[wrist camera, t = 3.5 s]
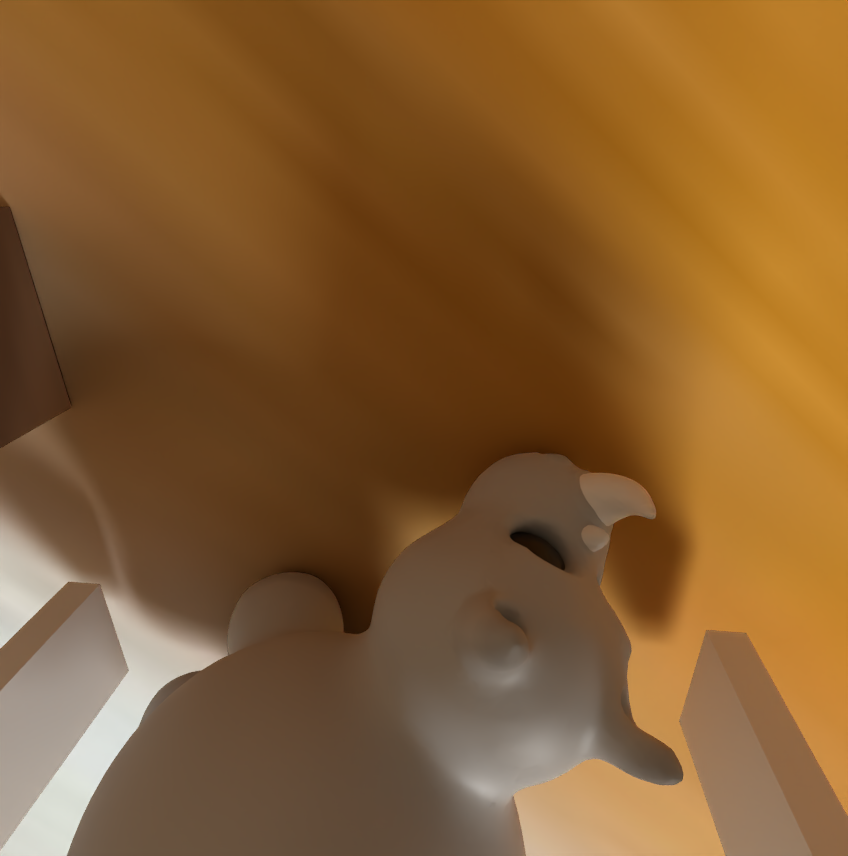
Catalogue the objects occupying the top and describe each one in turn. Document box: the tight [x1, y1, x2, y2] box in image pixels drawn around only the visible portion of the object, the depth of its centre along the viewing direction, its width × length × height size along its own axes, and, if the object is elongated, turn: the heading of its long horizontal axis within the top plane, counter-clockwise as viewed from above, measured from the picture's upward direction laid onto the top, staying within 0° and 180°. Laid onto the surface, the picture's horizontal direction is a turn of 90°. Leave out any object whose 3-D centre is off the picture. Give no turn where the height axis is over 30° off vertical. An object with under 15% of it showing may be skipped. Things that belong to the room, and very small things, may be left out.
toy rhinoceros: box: [67, 452, 683, 856], centre depth 10 cm, size 7×12×8 cm, turn 136°
